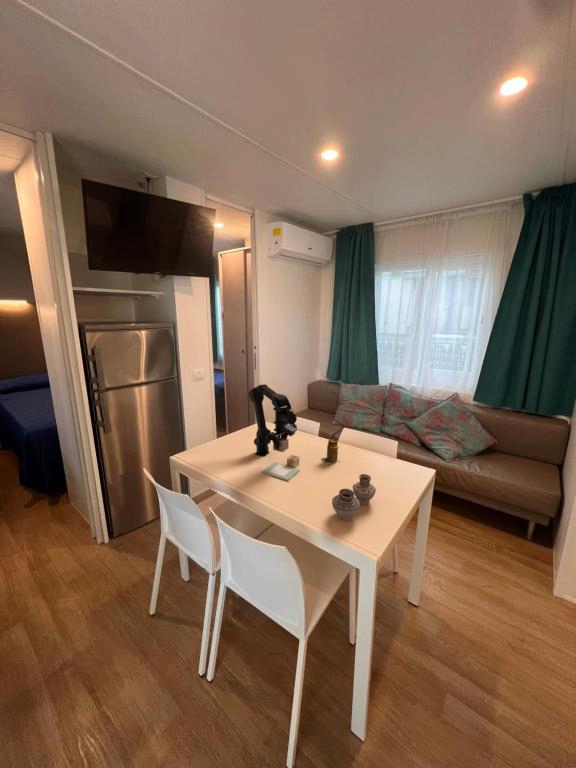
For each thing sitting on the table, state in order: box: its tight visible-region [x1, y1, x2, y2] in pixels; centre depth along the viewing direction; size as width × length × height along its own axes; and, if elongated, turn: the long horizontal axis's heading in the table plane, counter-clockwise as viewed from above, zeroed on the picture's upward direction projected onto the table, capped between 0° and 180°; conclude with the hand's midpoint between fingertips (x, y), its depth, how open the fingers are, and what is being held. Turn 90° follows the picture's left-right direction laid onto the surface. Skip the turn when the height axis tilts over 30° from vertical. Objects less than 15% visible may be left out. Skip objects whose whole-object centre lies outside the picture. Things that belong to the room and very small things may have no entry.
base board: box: [261, 461, 301, 482], centre depth 158 cm, size 16×12×1 cm
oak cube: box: [286, 454, 300, 469], centre depth 164 cm, size 5×5×5 cm
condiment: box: [321, 438, 341, 465], centre depth 170 cm, size 7×8×12 cm
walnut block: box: [272, 438, 289, 453], centre depth 160 cm, size 6×6×5 cm
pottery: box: [331, 473, 377, 521], centre depth 127 cm, size 11×25×12 cm, turn 137°
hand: (280, 447), depth 161 cm, fingers closed on walnut block, 6 cm apart
